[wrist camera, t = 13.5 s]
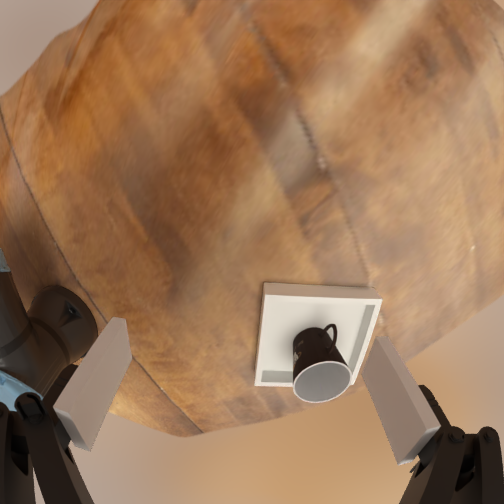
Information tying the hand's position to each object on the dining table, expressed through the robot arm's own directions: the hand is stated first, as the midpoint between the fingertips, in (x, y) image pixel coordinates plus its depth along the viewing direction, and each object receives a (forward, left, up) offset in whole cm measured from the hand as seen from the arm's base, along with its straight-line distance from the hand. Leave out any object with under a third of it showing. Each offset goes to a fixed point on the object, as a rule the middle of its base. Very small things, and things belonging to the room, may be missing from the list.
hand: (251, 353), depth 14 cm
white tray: (+12, -18, -29) cm, 36 cm away
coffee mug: (+12, -18, -28) cm, 36 cm away
